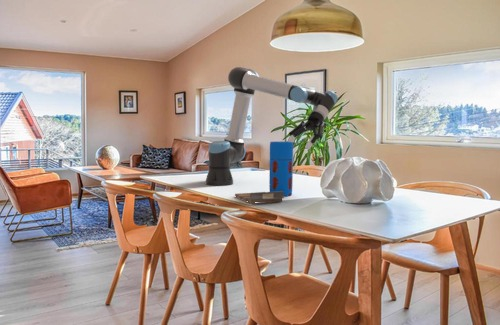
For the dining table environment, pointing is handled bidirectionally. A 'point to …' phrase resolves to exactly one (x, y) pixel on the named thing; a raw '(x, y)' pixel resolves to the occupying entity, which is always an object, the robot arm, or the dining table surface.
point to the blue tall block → (281, 167)
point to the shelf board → (261, 196)
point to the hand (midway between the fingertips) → (296, 146)
